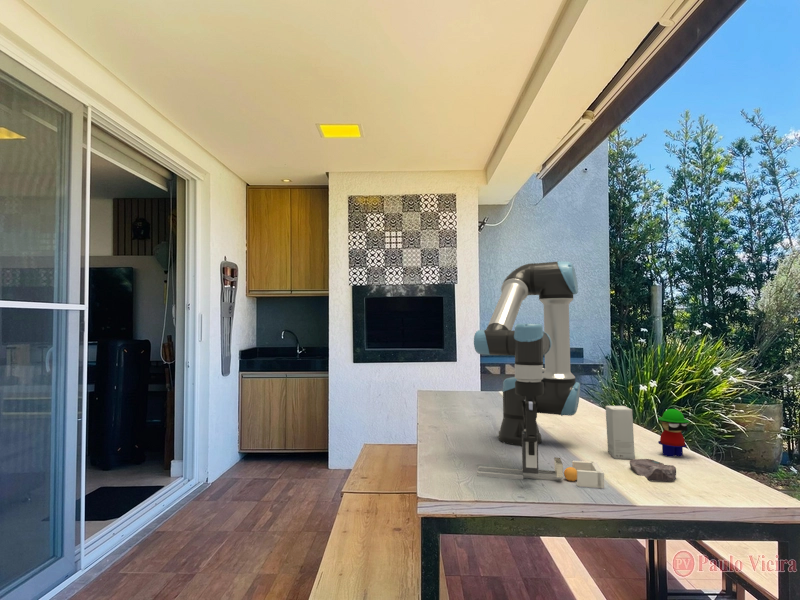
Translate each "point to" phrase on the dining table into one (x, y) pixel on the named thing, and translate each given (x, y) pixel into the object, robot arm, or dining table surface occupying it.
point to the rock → (653, 469)
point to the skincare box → (620, 432)
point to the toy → (673, 433)
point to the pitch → (500, 475)
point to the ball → (570, 474)
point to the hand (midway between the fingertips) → (530, 459)
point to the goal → (589, 474)
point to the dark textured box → (534, 472)
